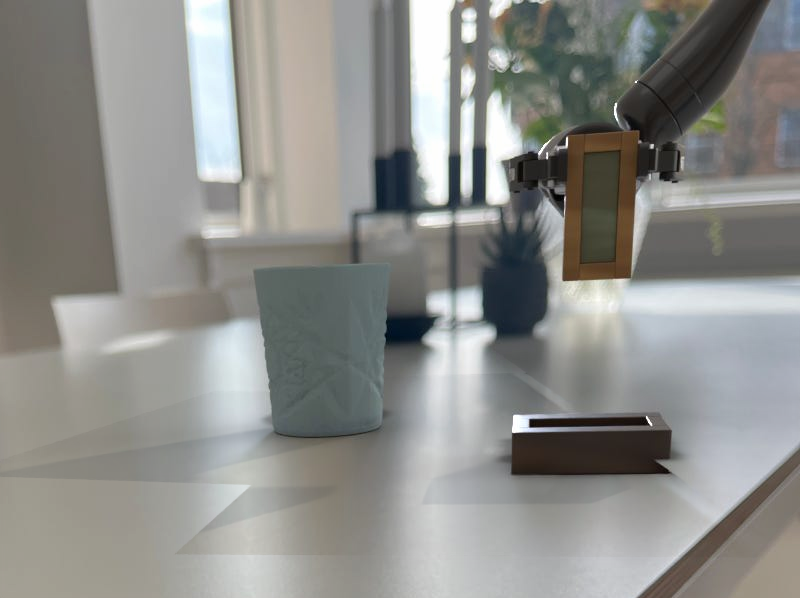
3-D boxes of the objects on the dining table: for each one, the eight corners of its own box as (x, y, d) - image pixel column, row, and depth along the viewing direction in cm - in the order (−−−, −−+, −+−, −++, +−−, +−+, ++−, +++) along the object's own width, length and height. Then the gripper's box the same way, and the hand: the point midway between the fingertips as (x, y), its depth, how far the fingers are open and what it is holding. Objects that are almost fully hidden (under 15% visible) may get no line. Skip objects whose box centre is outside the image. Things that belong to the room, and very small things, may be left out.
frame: (561, 280, 80) (566, 138, 77) (628, 277, 79) (636, 133, 76) (562, 281, 78) (567, 135, 75) (631, 278, 77) (639, 130, 74)
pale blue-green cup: (243, 437, 78) (230, 269, 74) (293, 415, 87) (284, 264, 83) (371, 439, 75) (365, 263, 70) (409, 416, 83) (406, 258, 79)
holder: (513, 453, 67) (513, 414, 66) (656, 451, 66) (659, 412, 65) (511, 474, 61) (511, 432, 61) (669, 473, 60) (672, 429, 59)
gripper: (674, 216, 89) (704, 213, 73) (506, 225, 92) (500, 224, 76) (681, 119, 86) (713, 94, 71) (507, 132, 89) (501, 111, 73)
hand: (602, 162), depth 73 cm, fingers closed on frame, 5 cm apart
